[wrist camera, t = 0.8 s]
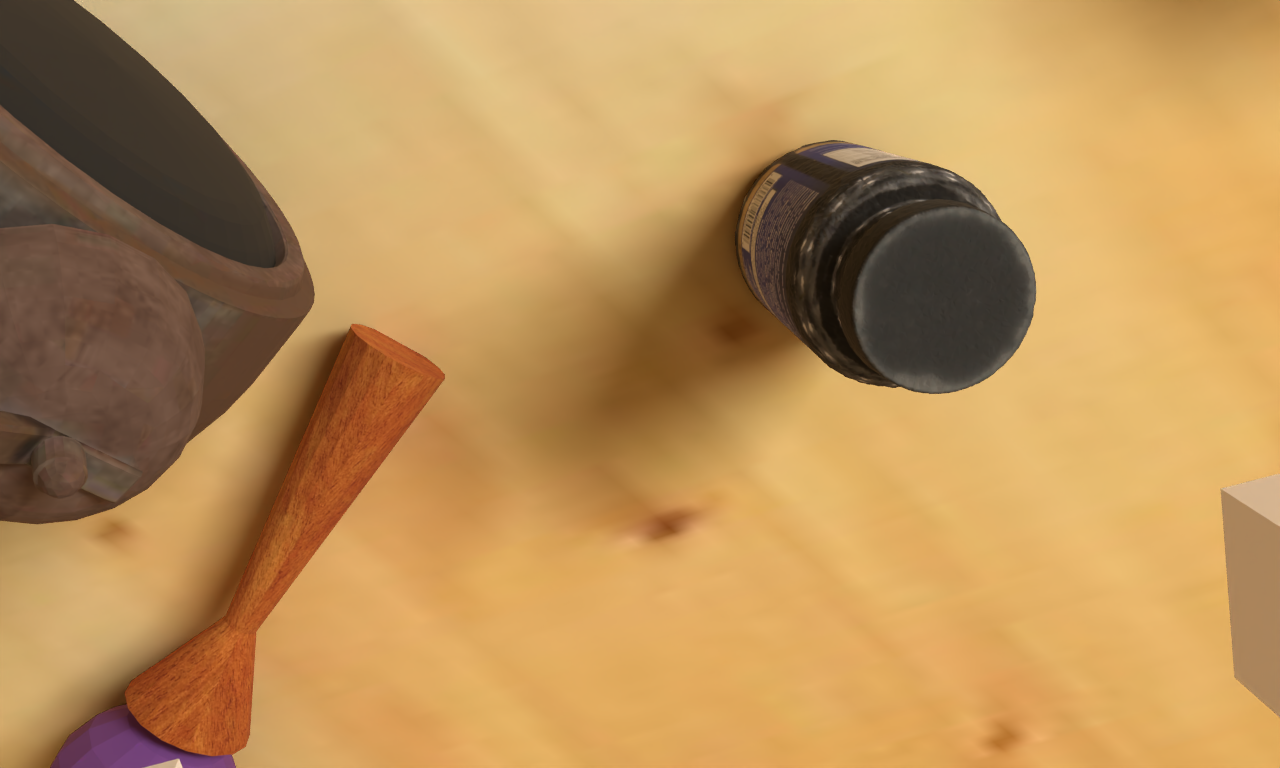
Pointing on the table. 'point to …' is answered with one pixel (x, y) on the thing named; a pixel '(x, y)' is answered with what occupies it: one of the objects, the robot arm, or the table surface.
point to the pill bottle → (886, 267)
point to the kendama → (265, 570)
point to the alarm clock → (121, 268)
